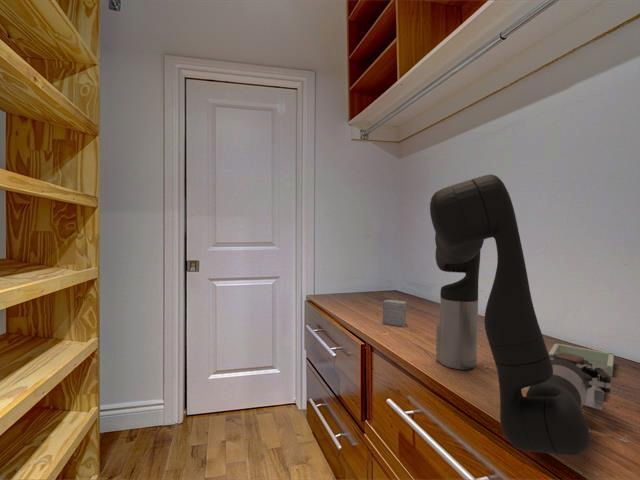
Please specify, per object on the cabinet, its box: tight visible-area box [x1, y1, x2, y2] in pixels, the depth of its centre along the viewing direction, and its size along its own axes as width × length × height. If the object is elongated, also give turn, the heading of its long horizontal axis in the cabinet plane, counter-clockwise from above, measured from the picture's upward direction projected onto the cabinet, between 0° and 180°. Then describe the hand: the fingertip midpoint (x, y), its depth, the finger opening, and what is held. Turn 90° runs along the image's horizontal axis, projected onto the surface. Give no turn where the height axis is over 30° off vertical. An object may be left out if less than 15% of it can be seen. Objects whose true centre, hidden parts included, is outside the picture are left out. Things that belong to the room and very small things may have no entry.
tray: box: [548, 342, 615, 378], centre depth 93 cm, size 12×13×2 cm
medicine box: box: [382, 299, 408, 328], centre depth 132 cm, size 8×4×9 cm, turn 59°
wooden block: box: [555, 352, 584, 365], centre depth 73 cm, size 4×4×8 cm
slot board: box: [583, 359, 607, 411], centre depth 85 cm, size 34×11×2 cm, turn 139°
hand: (570, 362), depth 75 cm, fingers closed on wooden block, 4 cm apart
